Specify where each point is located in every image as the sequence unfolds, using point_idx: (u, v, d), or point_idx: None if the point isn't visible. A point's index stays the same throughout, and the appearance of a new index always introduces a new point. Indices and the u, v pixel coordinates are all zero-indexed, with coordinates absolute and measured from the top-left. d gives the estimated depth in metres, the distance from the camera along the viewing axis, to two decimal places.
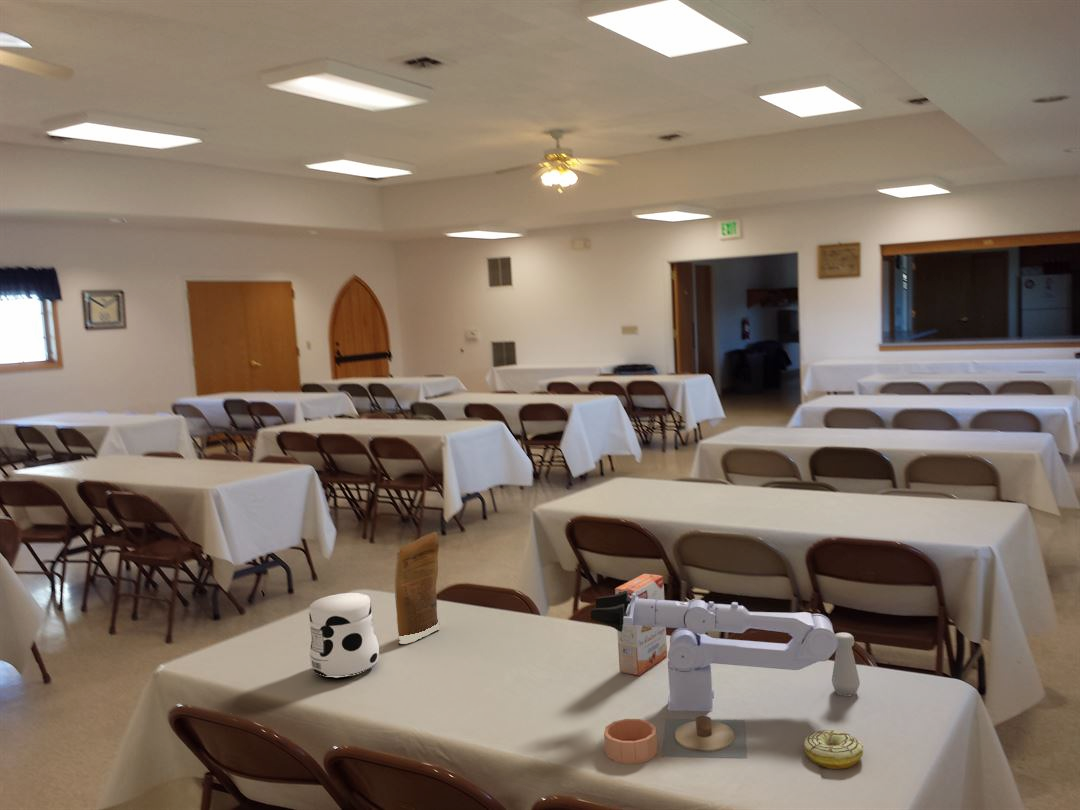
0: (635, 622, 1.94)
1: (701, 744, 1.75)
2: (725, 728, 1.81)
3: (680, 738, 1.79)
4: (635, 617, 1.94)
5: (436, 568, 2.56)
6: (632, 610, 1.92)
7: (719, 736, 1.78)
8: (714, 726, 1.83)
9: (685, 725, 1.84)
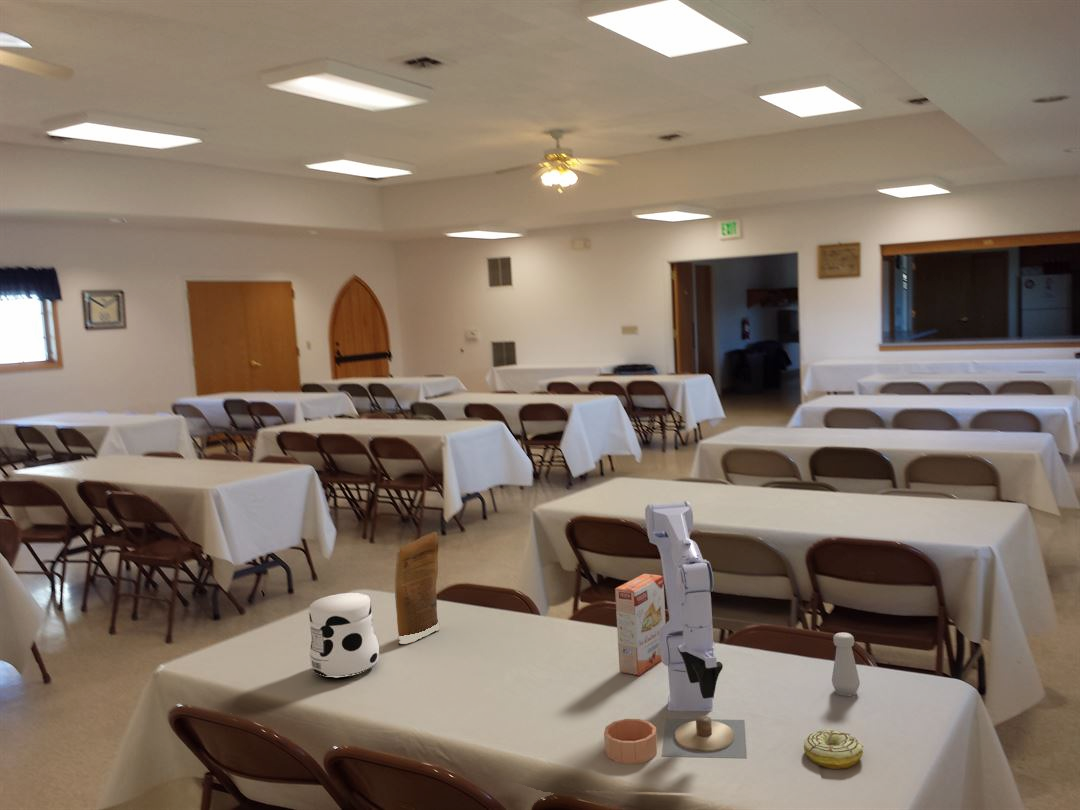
0: (710, 646, 1.76)
1: (701, 744, 1.75)
2: (725, 728, 1.81)
3: (680, 738, 1.79)
4: (705, 648, 1.75)
5: (436, 568, 2.56)
6: (697, 654, 1.74)
7: (719, 736, 1.78)
8: (714, 726, 1.83)
9: (685, 725, 1.84)
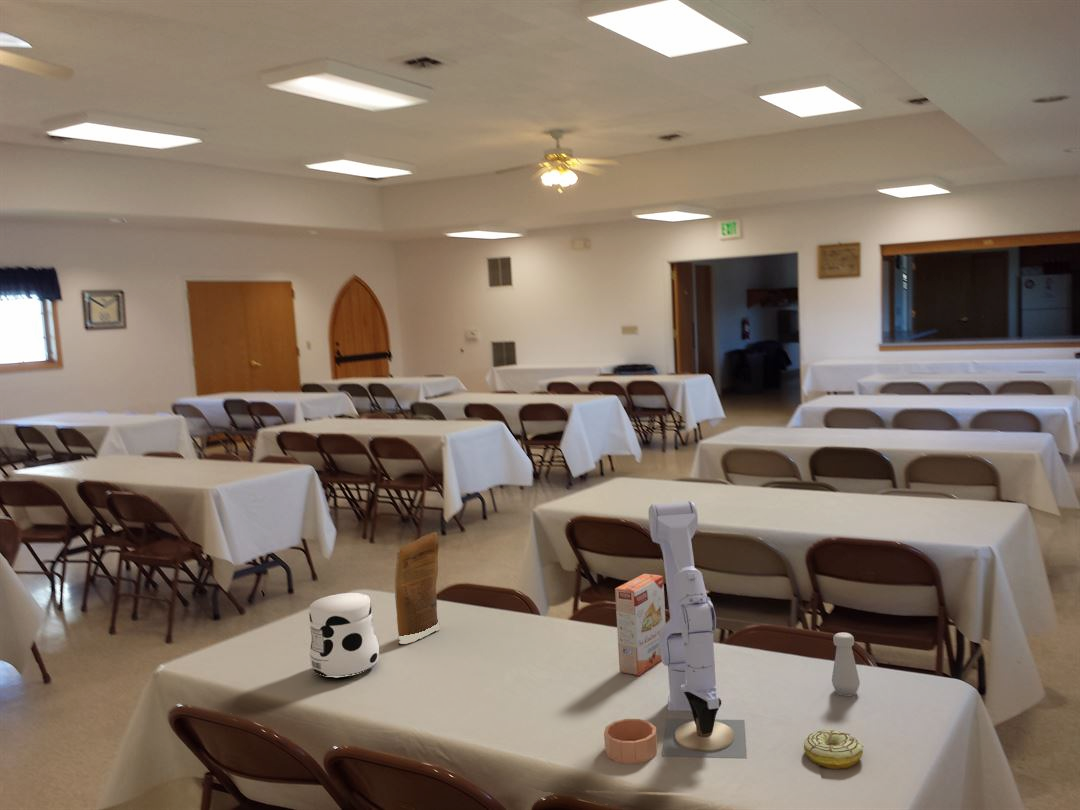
0: (713, 686, 1.77)
1: (701, 744, 1.75)
2: (725, 728, 1.81)
3: (680, 738, 1.79)
4: (707, 688, 1.76)
5: (436, 568, 2.56)
6: (700, 695, 1.75)
7: (719, 736, 1.78)
8: (714, 726, 1.83)
9: (685, 725, 1.84)
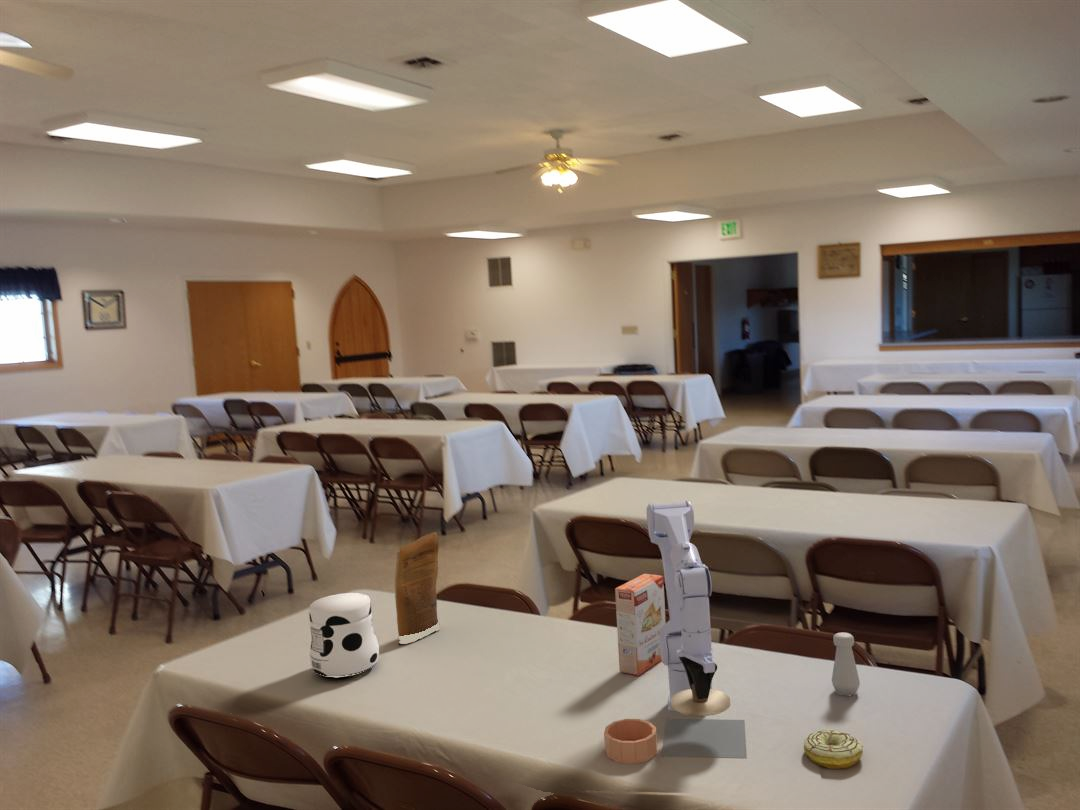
0: (708, 651, 1.76)
1: (697, 709, 1.75)
2: (721, 695, 1.81)
3: (676, 704, 1.78)
4: (703, 653, 1.75)
5: (436, 568, 2.56)
6: (695, 659, 1.74)
7: (715, 702, 1.77)
8: (710, 693, 1.82)
9: (681, 693, 1.83)
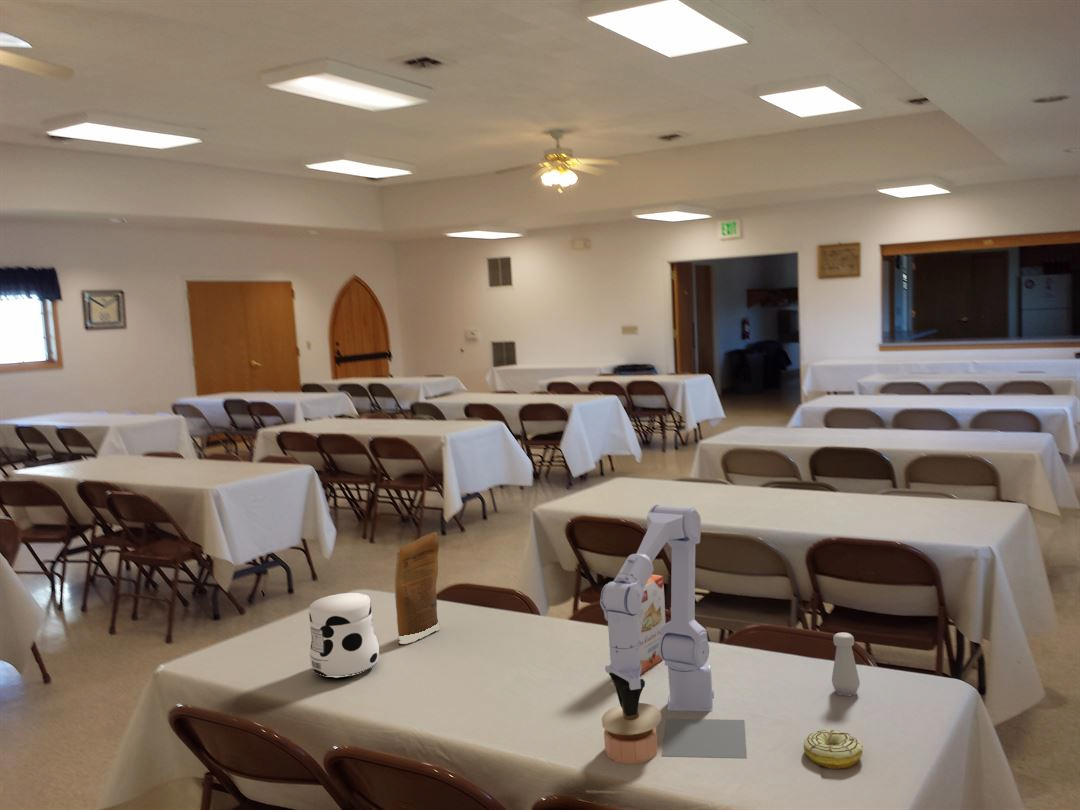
0: (636, 667, 1.73)
1: (626, 728, 1.72)
2: (653, 709, 1.78)
3: (606, 722, 1.75)
4: (630, 669, 1.73)
5: (436, 568, 2.56)
6: (622, 676, 1.71)
7: (645, 718, 1.75)
8: (643, 708, 1.79)
9: (613, 709, 1.80)
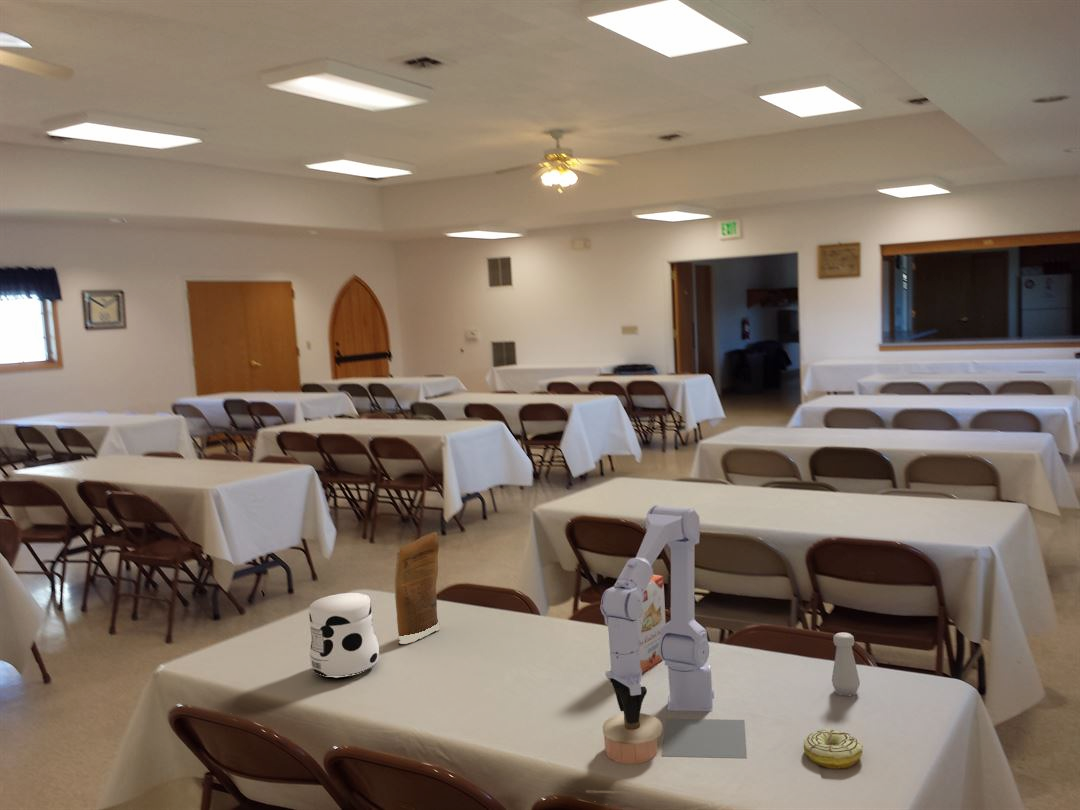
0: (637, 672, 1.73)
1: (627, 737, 1.72)
2: (654, 721, 1.78)
3: (607, 730, 1.75)
4: (631, 674, 1.73)
5: (436, 568, 2.56)
6: (622, 681, 1.71)
7: (647, 729, 1.75)
8: (644, 719, 1.79)
9: (614, 718, 1.81)
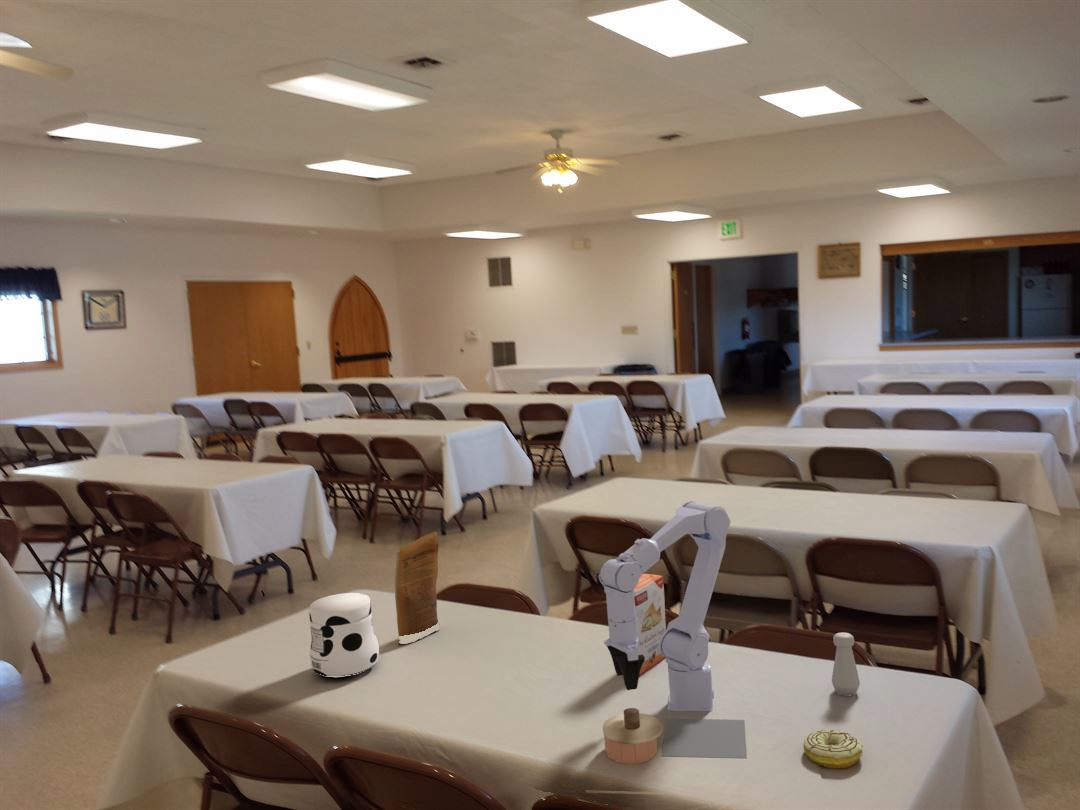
0: (634, 640, 1.84)
1: (627, 737, 1.72)
2: (654, 721, 1.78)
3: (607, 730, 1.75)
4: (628, 641, 1.83)
5: (436, 568, 2.56)
6: (620, 648, 1.82)
7: (647, 729, 1.75)
8: (644, 719, 1.79)
9: (614, 718, 1.81)
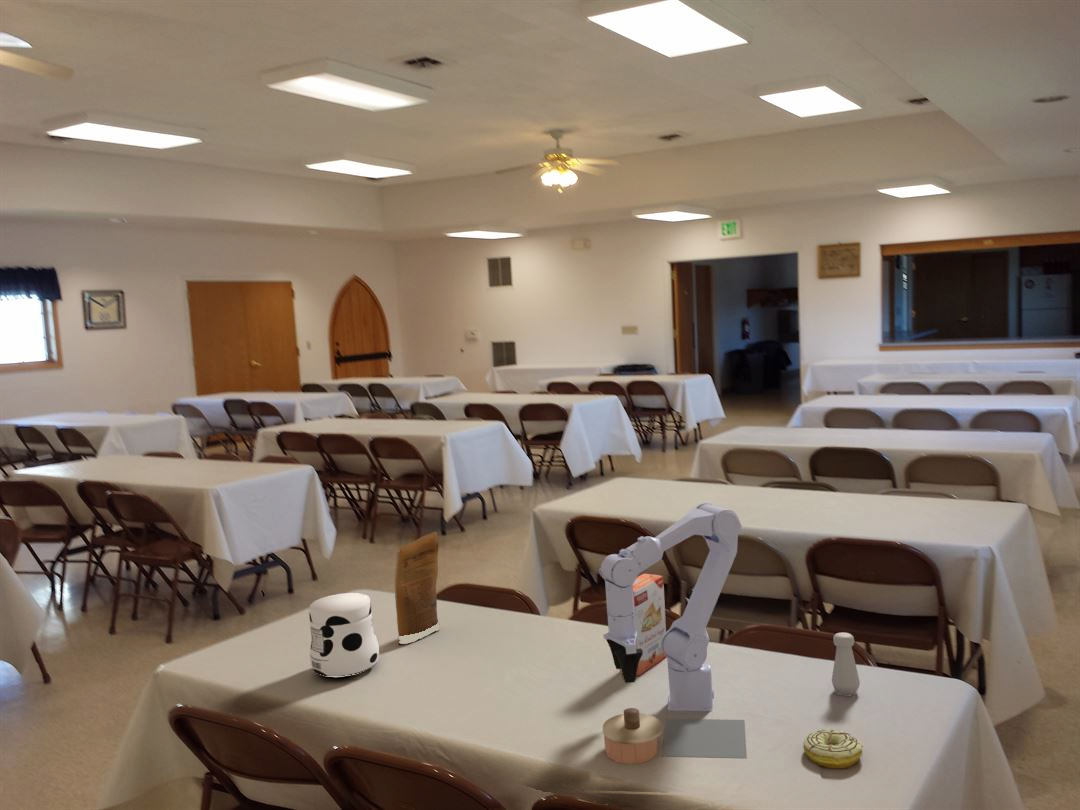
0: (632, 634, 1.87)
1: (627, 737, 1.72)
2: (654, 721, 1.78)
3: (607, 730, 1.75)
4: (627, 635, 1.86)
5: (436, 568, 2.56)
6: (619, 641, 1.85)
7: (647, 729, 1.75)
8: (644, 719, 1.79)
9: (614, 718, 1.81)
